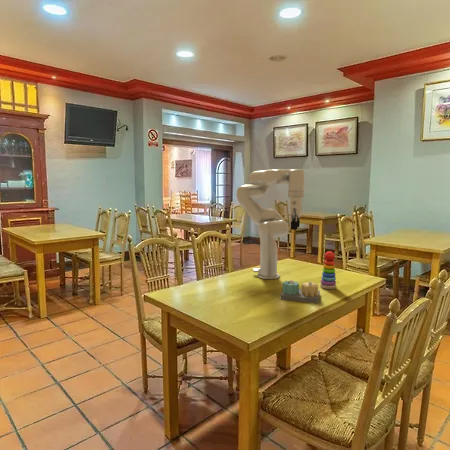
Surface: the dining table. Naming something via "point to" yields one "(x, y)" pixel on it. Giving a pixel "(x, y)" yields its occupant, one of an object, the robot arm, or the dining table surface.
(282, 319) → the dining table surface
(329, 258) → the stacking toy
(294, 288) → the teal gear
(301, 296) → the gear board
